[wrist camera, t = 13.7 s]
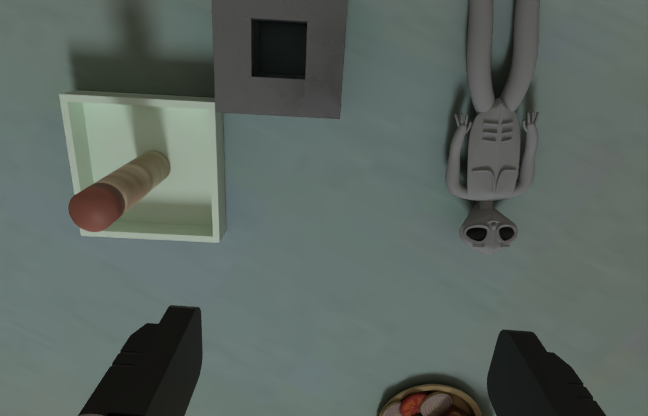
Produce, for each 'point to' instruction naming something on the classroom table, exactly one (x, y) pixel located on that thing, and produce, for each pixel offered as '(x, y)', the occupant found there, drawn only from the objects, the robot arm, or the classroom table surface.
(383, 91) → the classroom table surface
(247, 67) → the socket block
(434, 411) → the toy sandwich meal
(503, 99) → the alien figure
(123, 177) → the pin
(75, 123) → the tray
